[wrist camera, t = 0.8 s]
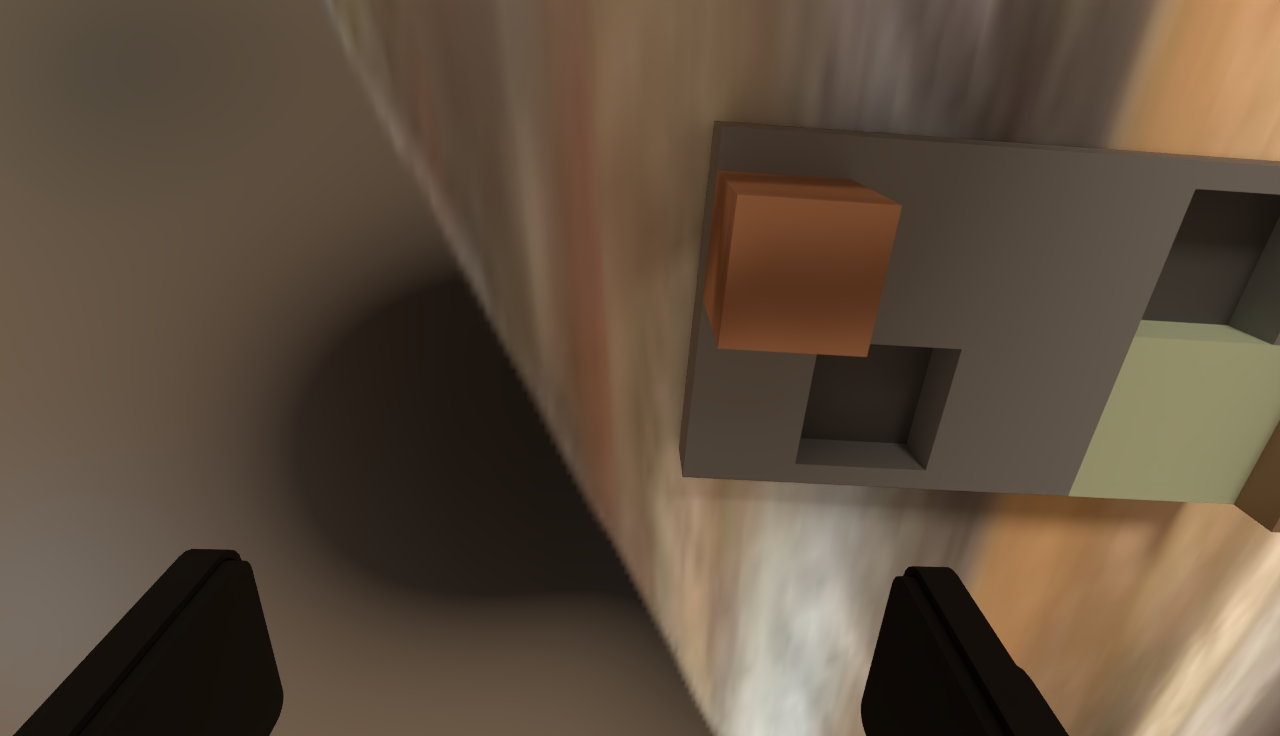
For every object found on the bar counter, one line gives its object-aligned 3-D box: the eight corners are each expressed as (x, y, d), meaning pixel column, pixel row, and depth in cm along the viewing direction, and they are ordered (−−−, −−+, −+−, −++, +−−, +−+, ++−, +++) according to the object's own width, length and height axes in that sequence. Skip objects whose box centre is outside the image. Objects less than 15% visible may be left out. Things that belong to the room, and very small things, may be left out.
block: (717, 169, 24) (737, 194, 20) (851, 179, 24) (902, 205, 20) (702, 299, 26) (717, 348, 22) (826, 306, 26) (866, 357, 22)
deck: (714, 121, 26) (729, 131, 22) (1365, 167, 27) (1497, 186, 23) (678, 447, 32) (685, 503, 28) (1207, 475, 33) (1288, 532, 29)
